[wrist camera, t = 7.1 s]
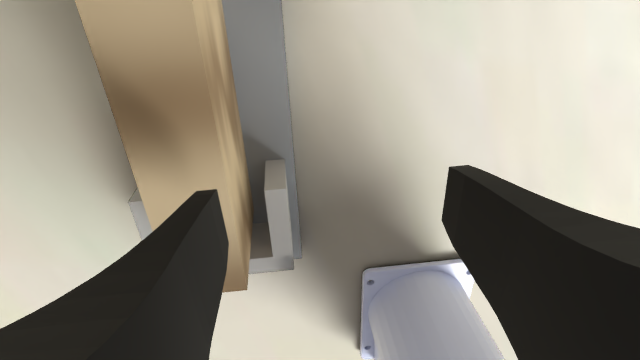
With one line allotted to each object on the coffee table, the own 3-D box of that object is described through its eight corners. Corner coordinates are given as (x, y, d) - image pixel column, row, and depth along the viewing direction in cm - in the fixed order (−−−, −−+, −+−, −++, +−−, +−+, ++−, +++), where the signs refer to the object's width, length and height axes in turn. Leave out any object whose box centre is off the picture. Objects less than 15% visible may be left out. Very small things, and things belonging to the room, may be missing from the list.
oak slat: (253, 209, 21) (246, 289, 16) (199, 214, 21) (174, 297, 15) (195, -172, 13) (140, -268, 7) (104, -171, 12) (-16, -269, 7)
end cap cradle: (301, 249, 24) (305, 295, 20) (174, 262, 23) (157, 311, 20) (253, -338, 11) (245, -459, 8) (-18, -343, 11) (-143, -476, 8)
